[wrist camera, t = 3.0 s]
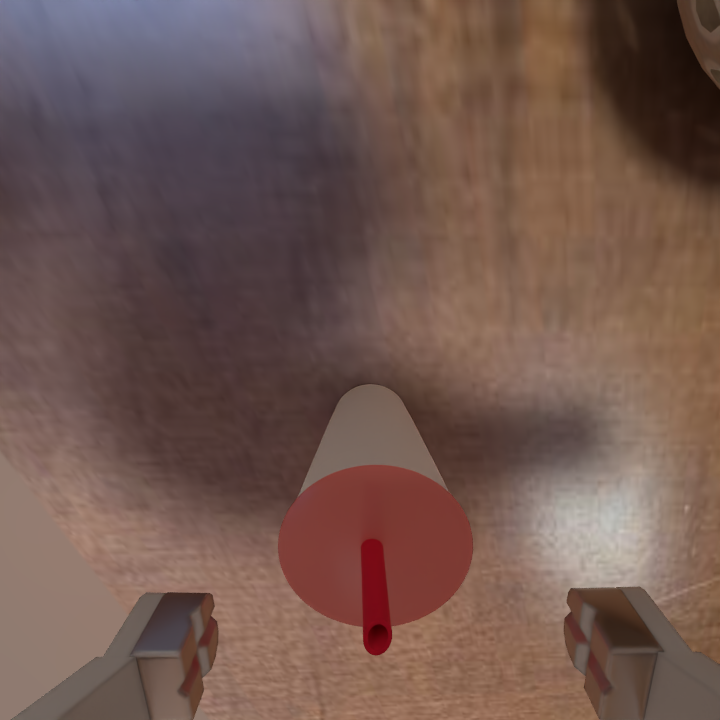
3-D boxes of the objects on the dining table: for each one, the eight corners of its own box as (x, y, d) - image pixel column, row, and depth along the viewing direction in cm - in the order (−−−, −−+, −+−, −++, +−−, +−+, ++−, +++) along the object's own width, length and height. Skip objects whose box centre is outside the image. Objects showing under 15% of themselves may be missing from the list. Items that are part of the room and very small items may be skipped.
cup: (355, 340, 20) (344, 500, 8) (451, 404, 21) (562, 631, 9) (291, 431, 21) (204, 679, 9) (383, 487, 22) (406, 778, 10)
